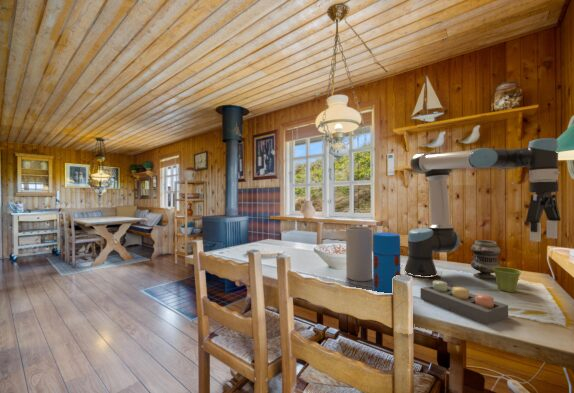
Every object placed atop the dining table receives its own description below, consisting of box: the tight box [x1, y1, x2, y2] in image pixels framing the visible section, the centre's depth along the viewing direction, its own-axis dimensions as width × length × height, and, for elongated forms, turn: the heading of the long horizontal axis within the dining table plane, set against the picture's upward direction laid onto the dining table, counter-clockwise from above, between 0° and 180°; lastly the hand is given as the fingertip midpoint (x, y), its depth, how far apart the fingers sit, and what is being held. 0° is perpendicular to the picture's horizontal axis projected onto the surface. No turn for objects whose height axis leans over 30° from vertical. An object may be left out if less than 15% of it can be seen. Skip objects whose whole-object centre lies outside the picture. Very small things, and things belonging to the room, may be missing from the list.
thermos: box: [372, 232, 401, 293], centre depth 110 cm, size 11×11×25 cm
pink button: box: [474, 293, 495, 309], centre depth 88 cm, size 5×5×4 cm
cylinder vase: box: [345, 226, 373, 282], centre depth 130 cm, size 12×12×25 cm
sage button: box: [432, 280, 448, 293], centre depth 103 cm, size 5×5×4 cm
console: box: [420, 284, 509, 326], centre depth 95 cm, size 24×12×4 cm, turn 24°
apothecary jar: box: [470, 239, 502, 281], centre depth 129 cm, size 12×12×18 cm
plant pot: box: [493, 266, 522, 293], centre depth 112 cm, size 9×9×9 cm
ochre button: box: [452, 286, 470, 300], centre depth 95 cm, size 5×5×4 cm
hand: (543, 239), depth 94 cm, fingers open, 13 cm apart
